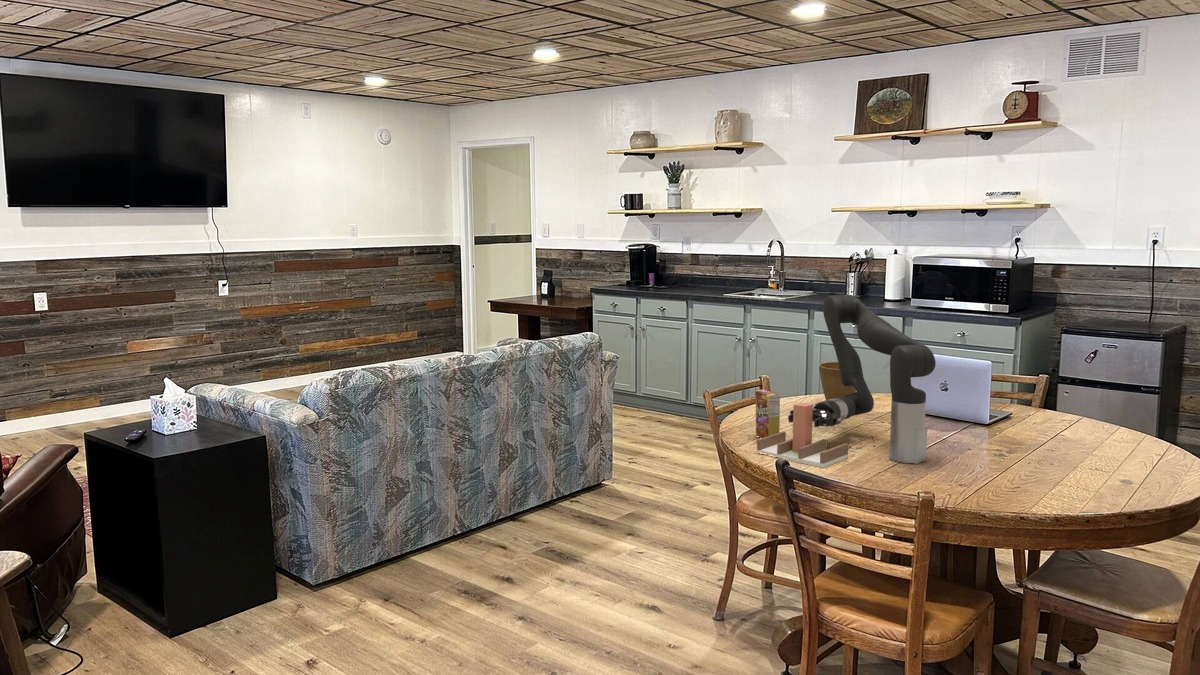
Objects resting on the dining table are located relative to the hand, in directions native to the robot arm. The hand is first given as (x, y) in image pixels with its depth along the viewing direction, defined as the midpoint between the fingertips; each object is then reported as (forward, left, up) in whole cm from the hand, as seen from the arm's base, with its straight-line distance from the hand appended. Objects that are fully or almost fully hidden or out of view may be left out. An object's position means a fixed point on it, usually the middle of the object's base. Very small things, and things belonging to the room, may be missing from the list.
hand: (802, 421), depth 256 cm
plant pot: (+24, -65, -11) cm, 70 cm away
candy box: (+18, -9, -11) cm, 23 cm away
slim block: (0, 0, -9) cm, 9 cm away
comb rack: (0, 0, -10) cm, 10 cm away
